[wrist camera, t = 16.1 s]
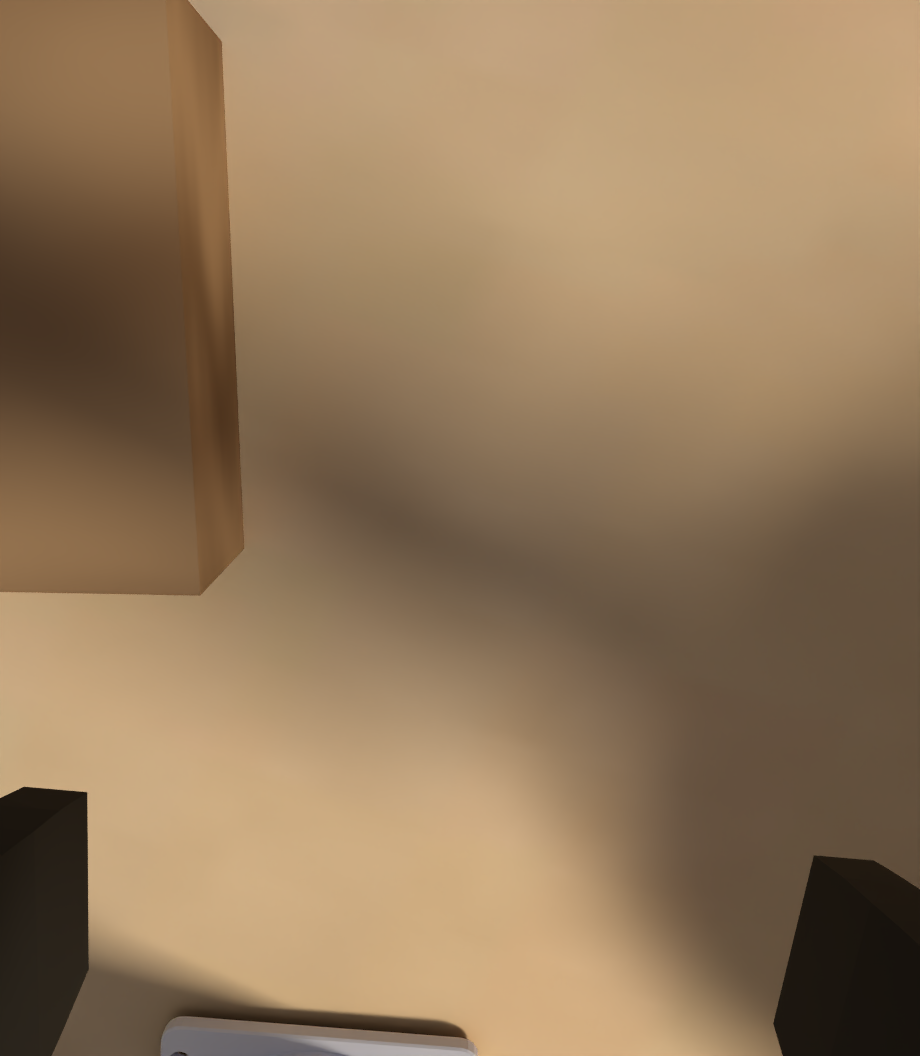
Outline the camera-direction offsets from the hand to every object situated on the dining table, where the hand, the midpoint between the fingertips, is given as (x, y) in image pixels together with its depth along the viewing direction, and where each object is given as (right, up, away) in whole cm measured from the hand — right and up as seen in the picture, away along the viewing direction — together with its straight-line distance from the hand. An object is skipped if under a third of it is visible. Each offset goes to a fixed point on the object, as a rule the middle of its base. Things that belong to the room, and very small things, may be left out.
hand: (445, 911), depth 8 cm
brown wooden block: (-7, +8, +9) cm, 14 cm away
